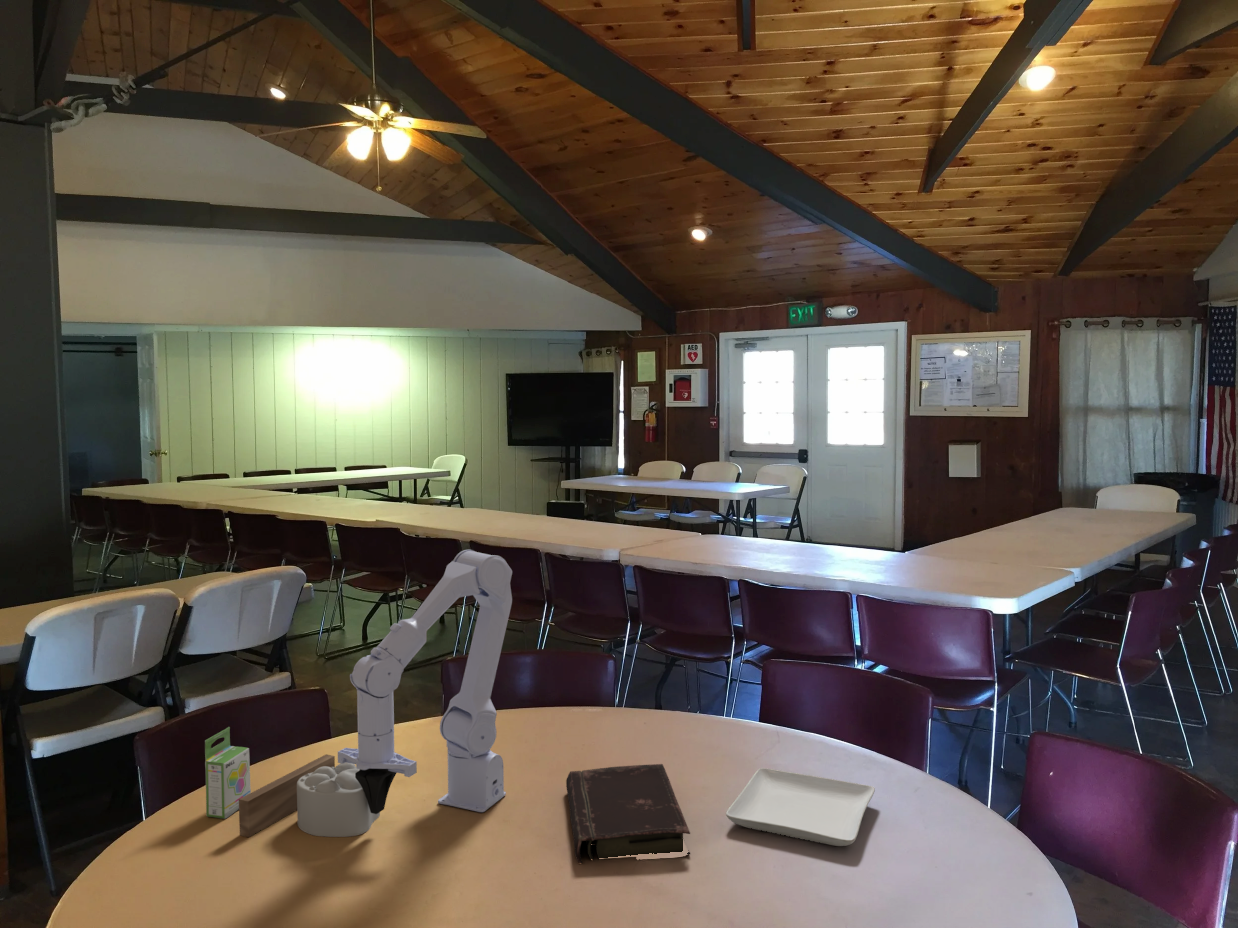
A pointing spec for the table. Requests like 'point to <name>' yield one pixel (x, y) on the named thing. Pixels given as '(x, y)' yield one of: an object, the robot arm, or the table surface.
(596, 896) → the table surface
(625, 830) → the diary
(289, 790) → the walnut board
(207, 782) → the ink box
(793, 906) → the table surface
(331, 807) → the lumpy-topped squat cylinder
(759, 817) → the salad plate
